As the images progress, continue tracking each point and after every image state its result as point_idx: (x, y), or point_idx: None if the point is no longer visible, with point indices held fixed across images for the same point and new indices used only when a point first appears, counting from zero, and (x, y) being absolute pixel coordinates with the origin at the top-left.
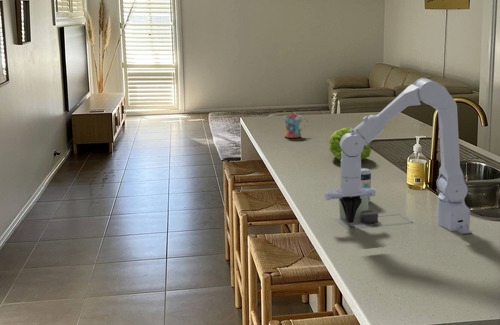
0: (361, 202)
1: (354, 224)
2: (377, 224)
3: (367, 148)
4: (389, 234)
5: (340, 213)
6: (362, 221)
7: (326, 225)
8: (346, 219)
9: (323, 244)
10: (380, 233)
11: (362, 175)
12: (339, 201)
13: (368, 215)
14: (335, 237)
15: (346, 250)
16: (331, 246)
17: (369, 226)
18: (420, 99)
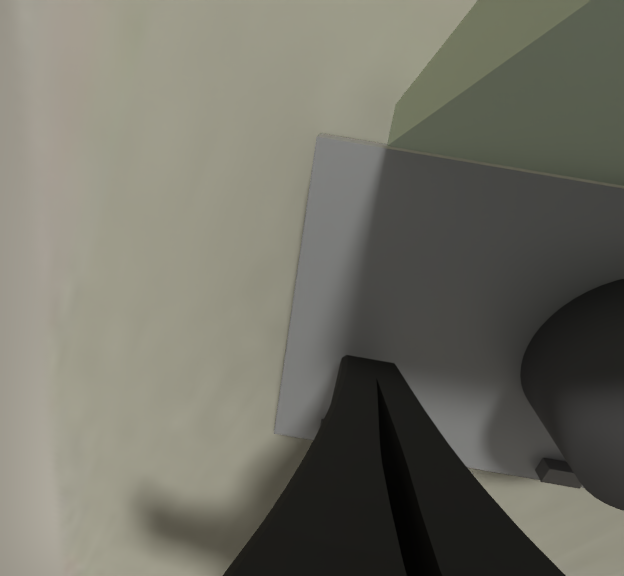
0: None
1: (411, 372)
2: (574, 487)
3: None
4: (552, 508)
5: (407, 135)
6: (527, 376)
7: (208, 115)
8: (339, 373)
9: (64, 462)
10: (516, 476)
11: None
12: (504, 43)
13: (600, 494)
14: (175, 410)
15: (166, 553)
16: (104, 497)
17: (492, 461)
18: None
